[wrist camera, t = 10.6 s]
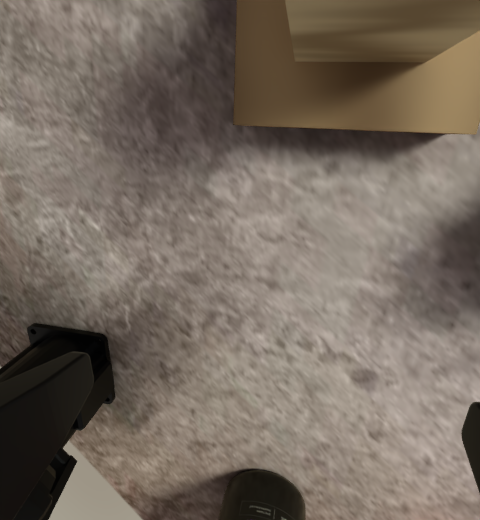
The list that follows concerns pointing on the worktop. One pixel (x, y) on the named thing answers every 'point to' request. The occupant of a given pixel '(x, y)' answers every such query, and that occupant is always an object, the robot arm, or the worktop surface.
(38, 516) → the robot arm
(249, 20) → the walnut block
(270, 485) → the supplement bottle
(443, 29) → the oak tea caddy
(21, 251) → the worktop surface
